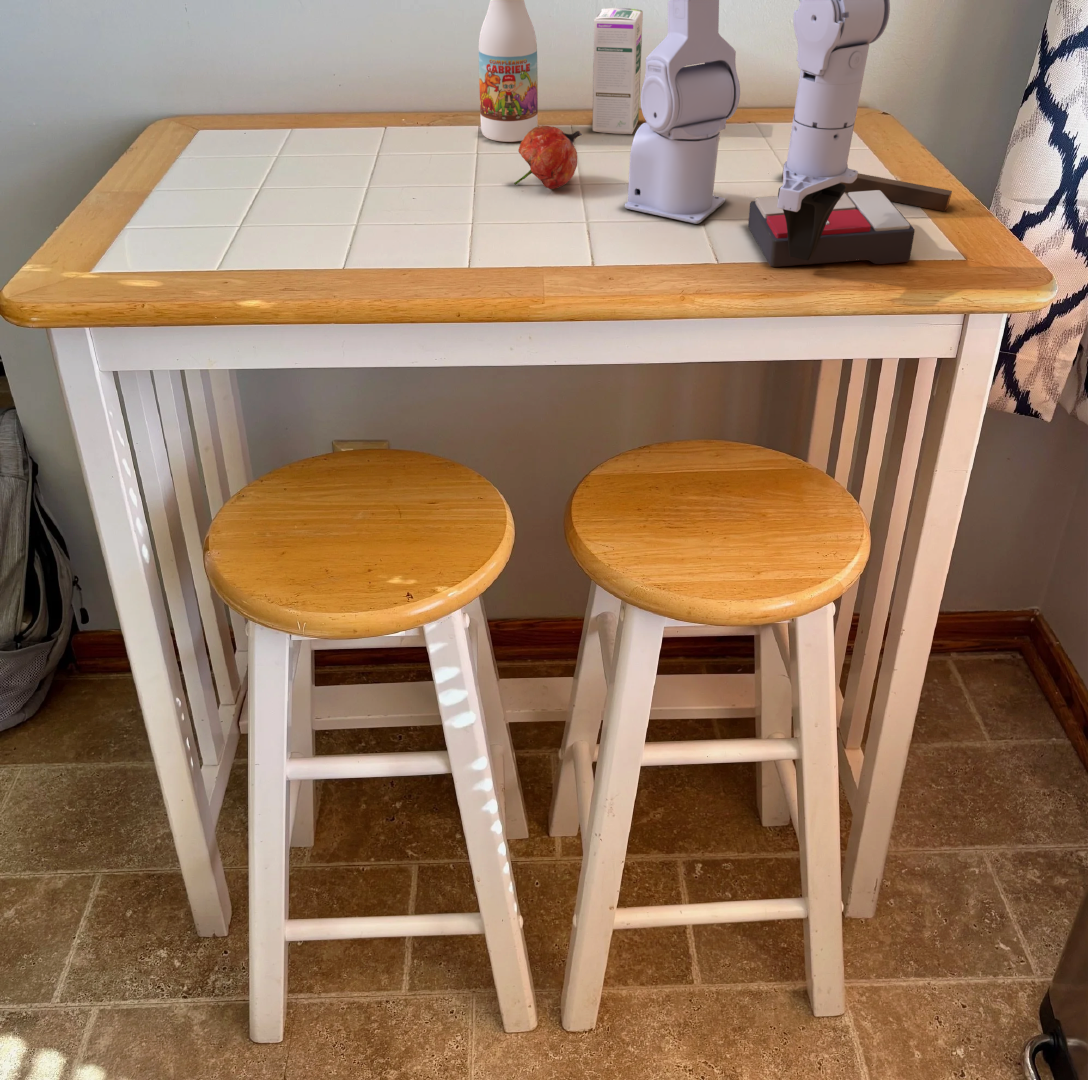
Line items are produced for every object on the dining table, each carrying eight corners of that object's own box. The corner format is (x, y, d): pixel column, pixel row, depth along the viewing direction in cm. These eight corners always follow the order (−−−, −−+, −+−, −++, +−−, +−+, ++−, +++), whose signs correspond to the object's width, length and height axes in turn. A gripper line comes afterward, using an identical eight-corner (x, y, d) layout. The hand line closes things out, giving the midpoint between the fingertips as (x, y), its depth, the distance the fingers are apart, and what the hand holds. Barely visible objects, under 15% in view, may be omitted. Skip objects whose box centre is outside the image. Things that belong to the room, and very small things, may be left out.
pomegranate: (525, 215, 126) (592, 168, 121) (488, 163, 123) (556, 113, 119) (537, 199, 132) (601, 154, 128) (502, 149, 130) (567, 101, 125)
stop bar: (781, 180, 129) (783, 163, 128) (785, 176, 130) (788, 159, 129) (944, 212, 122) (949, 195, 120) (948, 207, 123) (952, 190, 121)
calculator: (749, 194, 116) (883, 184, 116) (746, 231, 118) (877, 221, 119) (773, 234, 107) (917, 223, 108) (769, 273, 110) (910, 262, 110)
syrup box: (633, 135, 142) (639, 19, 133) (590, 132, 143) (593, 16, 134) (638, 122, 147) (645, 8, 137) (597, 119, 147) (600, 6, 138)
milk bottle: (474, 127, 144) (468, -35, 132) (528, 122, 146) (527, -38, 134) (489, 146, 139) (484, -22, 126) (544, 140, 140) (545, -26, 128)
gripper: (840, 149, 92) (815, 292, 101) (887, 106, 102) (860, 239, 111) (765, 136, 95) (746, 275, 104) (818, 95, 105) (796, 226, 113)
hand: (801, 256), depth 107 cm, fingers closed
